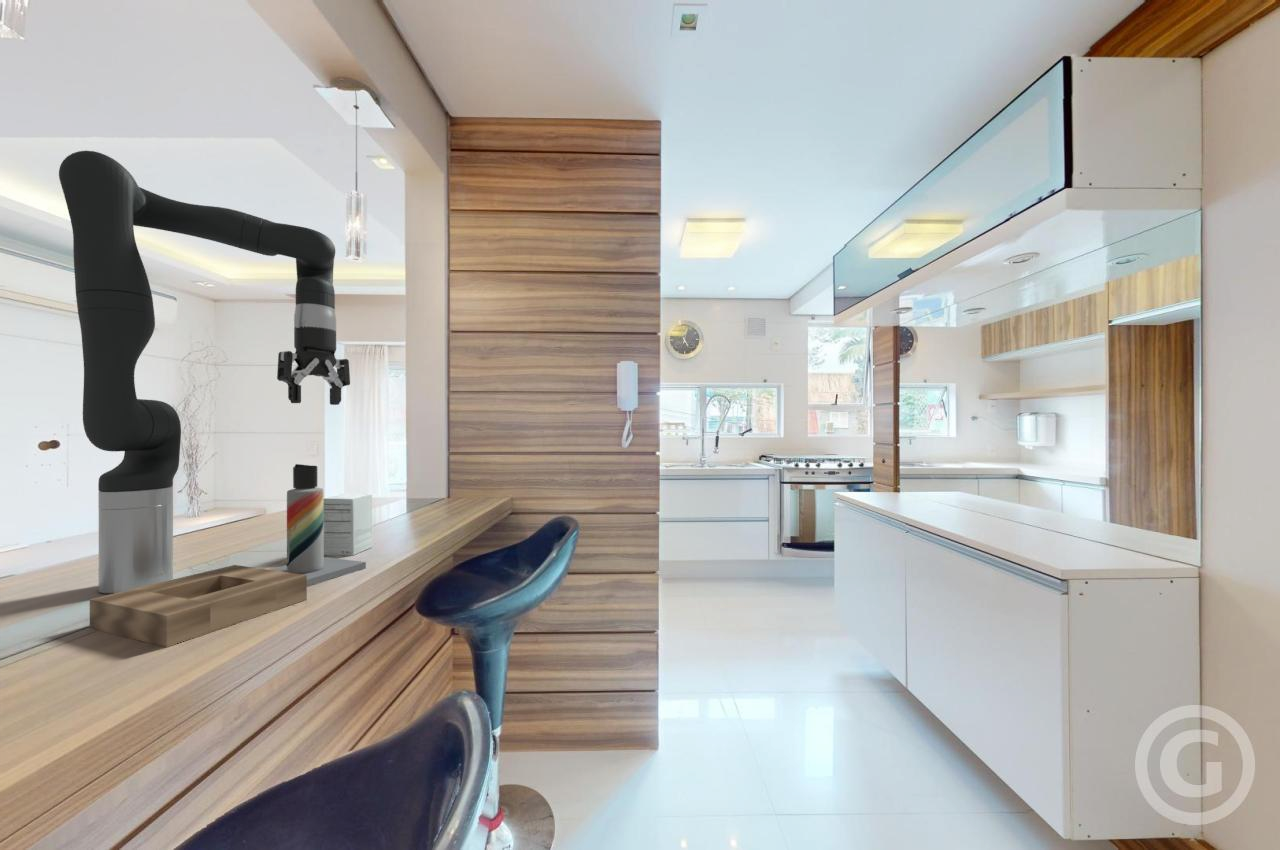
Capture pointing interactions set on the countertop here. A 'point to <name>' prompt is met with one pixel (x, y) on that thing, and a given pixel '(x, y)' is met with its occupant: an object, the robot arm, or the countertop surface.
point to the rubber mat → (329, 569)
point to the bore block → (195, 603)
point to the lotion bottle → (305, 522)
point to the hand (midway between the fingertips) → (315, 403)
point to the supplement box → (347, 524)
